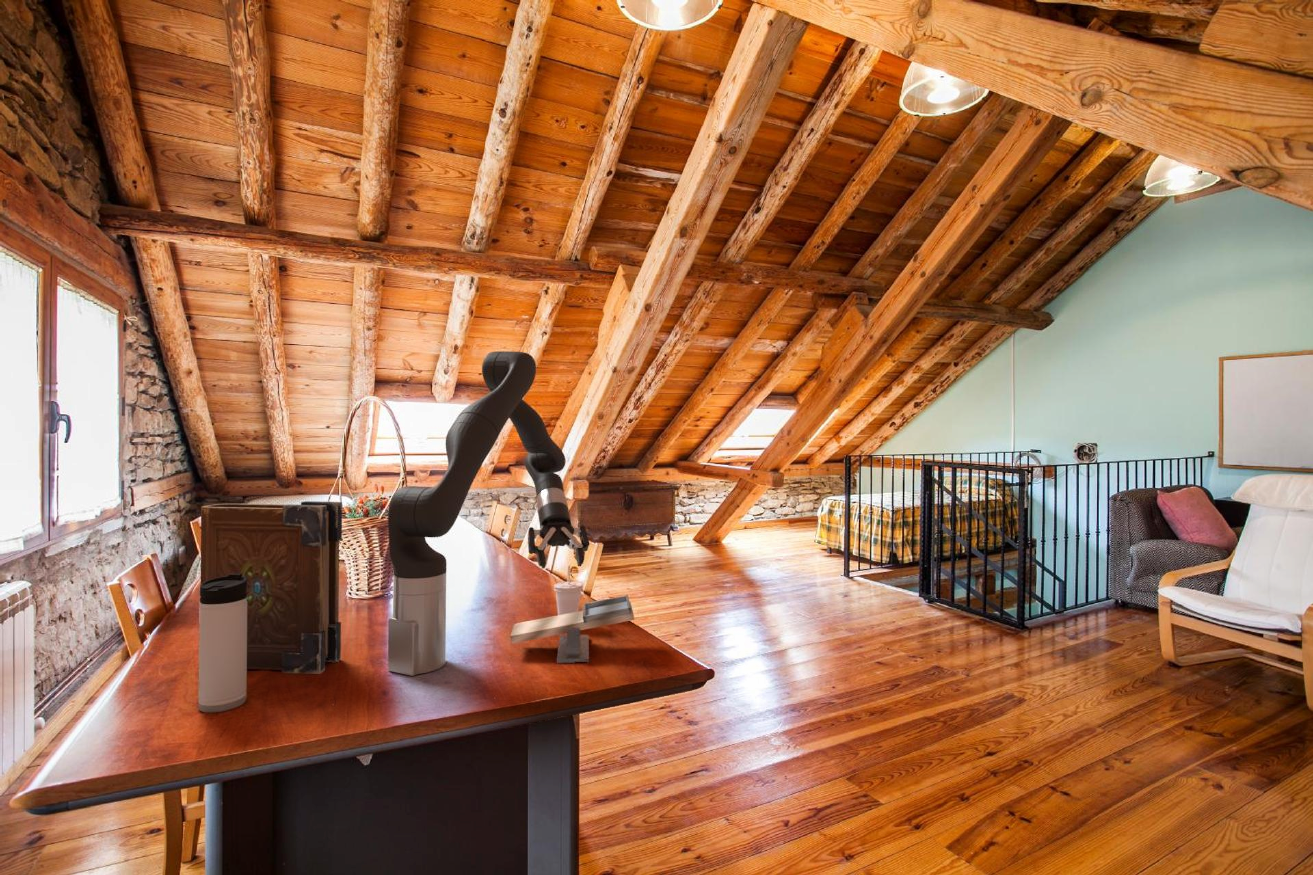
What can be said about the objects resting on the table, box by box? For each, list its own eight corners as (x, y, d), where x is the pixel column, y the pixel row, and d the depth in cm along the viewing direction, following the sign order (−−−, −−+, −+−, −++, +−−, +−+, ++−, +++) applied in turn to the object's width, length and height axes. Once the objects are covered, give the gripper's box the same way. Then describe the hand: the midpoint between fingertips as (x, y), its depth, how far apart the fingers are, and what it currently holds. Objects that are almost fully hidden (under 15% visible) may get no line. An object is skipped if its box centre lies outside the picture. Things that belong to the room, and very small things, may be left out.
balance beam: (510, 645, 121) (508, 631, 121) (516, 629, 131) (514, 616, 131) (634, 620, 124) (632, 607, 124) (631, 607, 133) (629, 594, 133)
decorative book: (340, 659, 120) (342, 501, 120) (319, 673, 113) (321, 506, 113) (220, 656, 121) (221, 499, 121) (191, 670, 114) (192, 503, 114)
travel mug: (256, 695, 104) (257, 573, 104) (230, 713, 97) (231, 582, 97) (217, 695, 104) (218, 573, 103) (188, 713, 97) (189, 582, 97)
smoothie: (555, 633, 138) (555, 568, 138) (551, 624, 144) (552, 562, 144) (584, 631, 140) (585, 567, 140) (579, 622, 146) (580, 561, 146)
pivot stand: (556, 663, 120) (557, 631, 120) (559, 639, 134) (560, 610, 134) (588, 662, 121) (589, 630, 121) (588, 638, 135) (588, 610, 134)
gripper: (526, 501, 153) (533, 557, 142) (583, 500, 158) (595, 554, 147) (522, 520, 158) (529, 576, 147) (578, 518, 163) (589, 572, 152)
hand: (562, 565), depth 147 cm, fingers open, 8 cm apart
